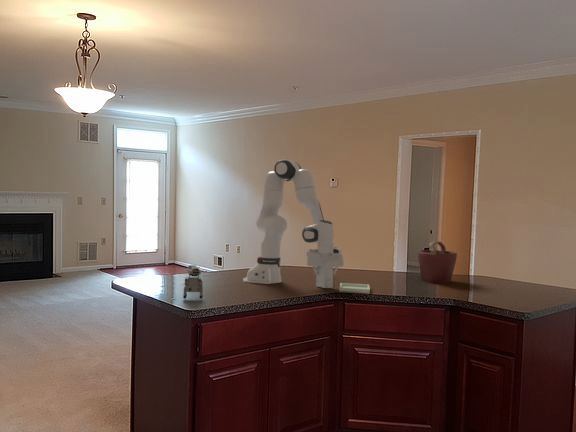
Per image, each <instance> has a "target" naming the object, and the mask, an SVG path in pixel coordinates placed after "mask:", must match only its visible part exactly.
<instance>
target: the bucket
mask: <svg viewBox="0 0 576 432" xmlns="http://www.w3.org/2000/svg"><path fill="white" fill-rule="evenodd" d="M436 244H438V246H439V248H440V249H439V250H437V248H436V247H435V245H436ZM428 246H429V248H430V249H421V250H419V251H418V254H417V255H418V264H419V270H420V278H421V281H422V282H425V283H429V284H440V285H441V284H442V285H444V284H450V283H451V281H452V277H453V272H454V270H455V267H456V266H455V265H456V261H457V259H458V258H457V257H458V255H457V254H458V253H457V252H453V251H448V250H447V249H446V246H445V244H444V243H443V242H442V241H436V240H434V241H431V242H430V243H429V244H428Z"/></svg>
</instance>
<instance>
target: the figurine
mask: <svg viewBox="0 0 576 432" xmlns="http://www.w3.org/2000/svg"><path fill="white" fill-rule="evenodd" d="M186 271H187V273H188V276H187V277H185V278H184V287H183V295H182V298H183V299H187V295H188V294H187V293H199V299H203V297H204V294H203V289H204V287H203V286H204V285H203V280H202V278H201V277H200V275H201V273H202V271H201V269H200V266H197V265H194V264H190V265H188V267H187V268H186Z"/></svg>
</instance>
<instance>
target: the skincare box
mask: <svg viewBox="0 0 576 432" xmlns="http://www.w3.org/2000/svg"><path fill="white" fill-rule="evenodd" d="M316 271H318V272H317V273H318V274H316V278H315V287H319V288H322V289H333V281H334V280H333V279H334V275H333V271H334V267H331V262H330V261H323V263H322V266H316Z"/></svg>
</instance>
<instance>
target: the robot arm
mask: <svg viewBox="0 0 576 432" xmlns="http://www.w3.org/2000/svg"><path fill="white" fill-rule="evenodd" d="M273 167H274V169H273V170H274V171H269V172H268V173H267V174H266V176H265V181H264V187H263V198H262V199H263V200H262V207H261V210H260V212H259V213H260V214H259V216H258V217H257V219H256V227H257V229H259V230H260V231H261V232H262V233H264V237H263V240H262V241H261V244H260V256H258V257H257V258H256V264H255V265H253V266H252V267H250V268H249V269H248V271H247V272H246V273H247V274H246V277H243V278H242V282H244V283H253V284H263V285H269V284H270V285H271V284H278V283H279V284H280V283H282V282H283V281H282V277H281V275H282V274H281V261H282V260H281V244H282V240H283V235H284V233H285V231H286V230H287V227H288V223H287V222H288V221H287V220H286V218H284V217H283V216H281V215H279V211H280V208H281V207H282V206H283V200H284V199H283V197H284V196H283V195H284V184H285V182H289V181H292V183H293V185H294V189H295V190H294V192H295V196H296V199H297V201H298V203H300V204H301V205H303V206H305V207H306V208H308V210H309V211H310V214H311V215H310V216H311V218H312V221H313V224H311V225H308V226H305V227H304V228H303V230H302V232H301V236H302V240H303V241H304V242H306V243H308V244H312V243H313V244H314V243H315V244H316V243H317V249H316V248H315V249H314V248H313V249H308V250H307V251H306V257H307V260H306V266H308V267H312V269H313V271H314V275H317V274H318V273H317V272H318V271H317V266H322V263H323V261H330V262H331V267H333V268H334V269H335V270H333V276H336V275H337V270H338V269H339V267H340V268H343V267H344V262H345V261H344V257H343V253H342V249H341V248H339V247H336V246H334V245H335V244H334V236H335V235H334V233H335V232H334V224H333V222H331V221H330V220H325V219H324V216H323V211H322V207H321V203H320V201H319V199H318V196H317V193H316V192H317V191H316V187H315V182H314V179H313V176H312V173H311V171H310V170H309V169H306V168H302V167H301V165H300V164H299V163H298V161H297V162H296V161H294V160H292V159H291V160H290V159H280V160H278V161H277V162H276V163H275V165H274V166H273Z"/></svg>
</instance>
